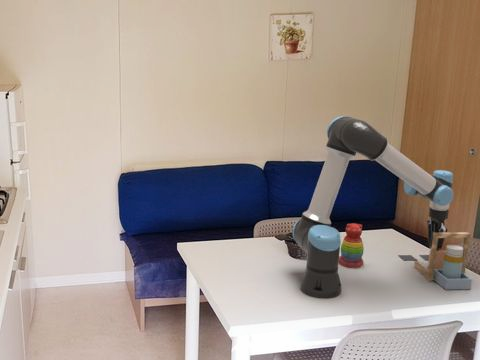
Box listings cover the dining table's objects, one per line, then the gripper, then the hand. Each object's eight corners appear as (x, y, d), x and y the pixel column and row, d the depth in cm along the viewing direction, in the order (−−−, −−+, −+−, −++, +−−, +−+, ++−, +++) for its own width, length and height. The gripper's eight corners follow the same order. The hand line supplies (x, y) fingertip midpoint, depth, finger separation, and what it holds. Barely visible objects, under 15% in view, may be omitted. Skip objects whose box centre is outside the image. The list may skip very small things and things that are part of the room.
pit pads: (403, 260, 237) (403, 260, 237) (398, 255, 243) (398, 255, 243) (438, 260, 240) (438, 259, 239) (432, 255, 245) (432, 254, 245)
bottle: (462, 287, 211) (467, 250, 208) (444, 286, 211) (449, 249, 208) (455, 280, 218) (460, 244, 215) (438, 279, 218) (442, 243, 215)
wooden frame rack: (429, 281, 216) (435, 234, 211) (413, 267, 230) (418, 223, 225) (464, 280, 218) (470, 233, 213) (446, 267, 232) (451, 222, 227)
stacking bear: (362, 260, 236) (365, 220, 232) (365, 269, 226) (369, 228, 222) (337, 258, 237) (340, 219, 233) (338, 267, 227) (342, 226, 223)
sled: (445, 289, 208) (448, 267, 206) (423, 271, 225) (426, 250, 223) (470, 288, 209) (473, 266, 207) (446, 270, 227) (449, 250, 225)
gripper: (455, 212, 217) (448, 268, 223) (440, 204, 230) (433, 256, 235) (438, 212, 216) (431, 268, 222) (423, 204, 229) (416, 257, 234)
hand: (432, 262), depth 228 cm, fingers closed
